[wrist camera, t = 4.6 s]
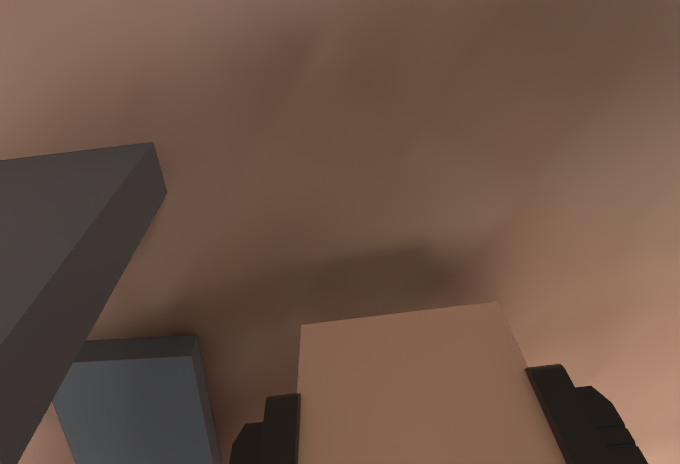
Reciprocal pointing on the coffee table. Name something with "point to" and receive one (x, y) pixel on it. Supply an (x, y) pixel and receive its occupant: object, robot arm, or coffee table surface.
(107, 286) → the domino
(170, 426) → the domino
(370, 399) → the domino
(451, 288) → the coffee table surface
